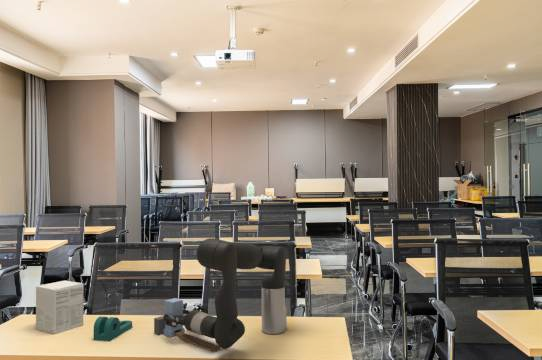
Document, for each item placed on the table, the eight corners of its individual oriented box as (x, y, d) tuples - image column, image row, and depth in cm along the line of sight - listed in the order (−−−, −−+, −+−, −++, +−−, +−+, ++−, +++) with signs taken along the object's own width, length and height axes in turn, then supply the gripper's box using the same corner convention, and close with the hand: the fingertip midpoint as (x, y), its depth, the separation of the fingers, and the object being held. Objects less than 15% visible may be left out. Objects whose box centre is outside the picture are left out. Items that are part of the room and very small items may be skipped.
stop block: (175, 327, 169) (175, 312, 169) (180, 328, 167) (180, 313, 167) (154, 333, 161) (154, 318, 161) (158, 335, 159) (158, 319, 159)
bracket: (109, 342, 153) (109, 320, 154) (93, 340, 155) (93, 319, 155) (135, 326, 171) (135, 307, 171) (120, 325, 173) (120, 306, 173)
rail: (172, 331, 164) (172, 328, 164) (220, 349, 144) (220, 346, 144) (166, 332, 162) (166, 329, 162) (215, 351, 143) (215, 348, 143)
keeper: (176, 330, 165) (176, 297, 165) (184, 332, 162) (184, 299, 162) (163, 334, 160) (163, 300, 161) (170, 337, 157) (170, 302, 157)
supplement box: (84, 325, 173) (84, 283, 173) (54, 334, 161) (54, 289, 162) (65, 320, 180) (65, 279, 180) (34, 329, 168) (35, 285, 169)
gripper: (214, 308, 156) (188, 301, 167) (183, 317, 145) (158, 308, 156) (215, 328, 156) (189, 319, 167) (183, 338, 145) (158, 328, 156)
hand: (174, 314), depth 162 cm, fingers open, 8 cm apart
